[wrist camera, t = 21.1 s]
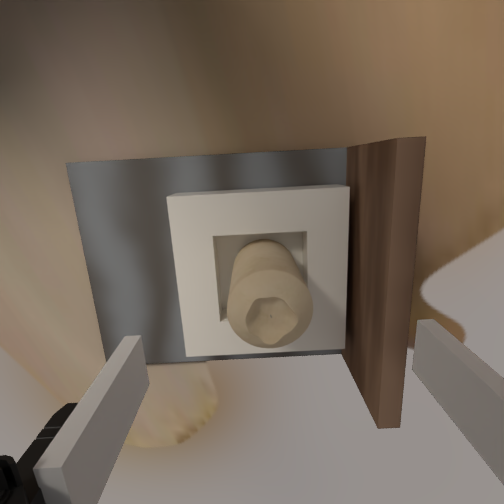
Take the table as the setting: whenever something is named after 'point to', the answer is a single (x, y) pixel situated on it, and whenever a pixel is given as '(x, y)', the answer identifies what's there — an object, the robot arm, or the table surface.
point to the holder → (250, 229)
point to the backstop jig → (254, 177)
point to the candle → (268, 296)
